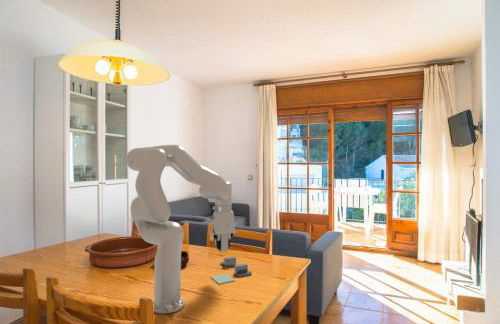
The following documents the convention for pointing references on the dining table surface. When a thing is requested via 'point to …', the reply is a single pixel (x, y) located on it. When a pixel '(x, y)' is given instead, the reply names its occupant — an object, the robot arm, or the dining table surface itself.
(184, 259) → the ashtray
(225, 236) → the hook
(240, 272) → the vise
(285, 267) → the dining table surface
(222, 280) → the mat
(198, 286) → the dining table surface
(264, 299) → the dining table surface
